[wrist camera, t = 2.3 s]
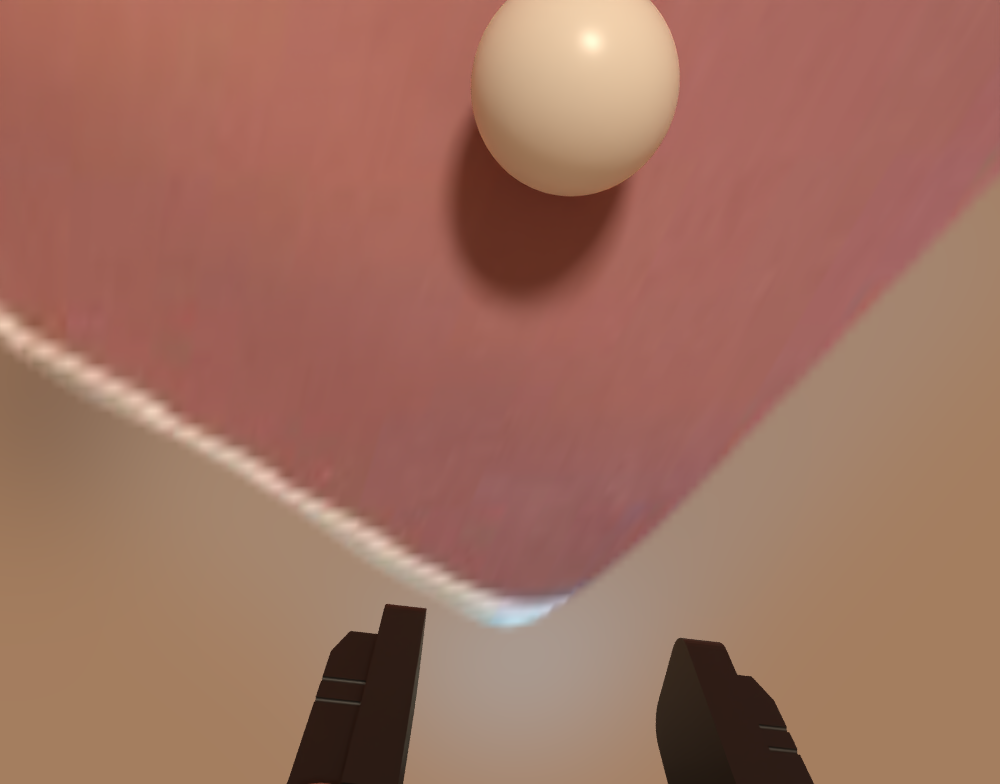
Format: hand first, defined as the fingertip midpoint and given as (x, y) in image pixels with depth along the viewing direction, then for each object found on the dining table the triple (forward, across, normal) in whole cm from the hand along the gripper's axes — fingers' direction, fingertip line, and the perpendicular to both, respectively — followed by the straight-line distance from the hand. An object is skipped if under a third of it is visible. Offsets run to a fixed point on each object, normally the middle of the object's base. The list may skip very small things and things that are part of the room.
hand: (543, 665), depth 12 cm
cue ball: (+12, 0, -10) cm, 16 cm away
